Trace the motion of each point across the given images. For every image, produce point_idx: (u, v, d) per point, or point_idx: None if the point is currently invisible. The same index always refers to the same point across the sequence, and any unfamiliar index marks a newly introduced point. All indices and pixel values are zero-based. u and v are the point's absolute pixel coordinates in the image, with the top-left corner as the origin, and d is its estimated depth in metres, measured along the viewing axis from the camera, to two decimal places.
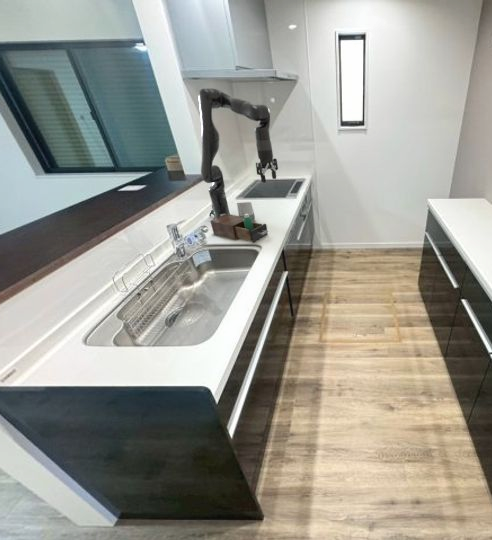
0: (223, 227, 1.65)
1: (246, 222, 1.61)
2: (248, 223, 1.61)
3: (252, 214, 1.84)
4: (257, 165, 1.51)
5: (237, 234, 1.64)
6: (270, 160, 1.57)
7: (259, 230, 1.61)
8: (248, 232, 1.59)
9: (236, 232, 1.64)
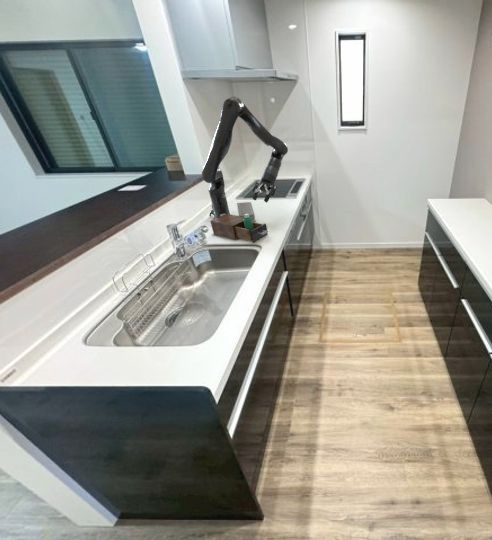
0: (223, 227, 1.65)
1: (246, 222, 1.61)
2: (248, 223, 1.61)
3: (252, 214, 1.84)
4: (274, 187, 1.65)
5: (237, 234, 1.64)
6: None
7: (259, 230, 1.61)
8: (248, 232, 1.59)
9: (236, 232, 1.64)
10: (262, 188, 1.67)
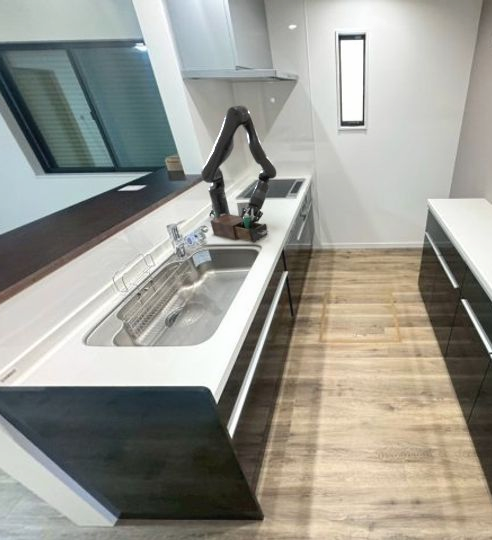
0: (223, 227, 1.65)
1: (246, 222, 1.61)
2: (248, 223, 1.61)
3: None
4: (260, 214, 1.61)
5: (237, 234, 1.64)
6: None
7: (259, 230, 1.61)
8: (248, 232, 1.59)
9: (236, 232, 1.64)
10: (249, 212, 1.63)
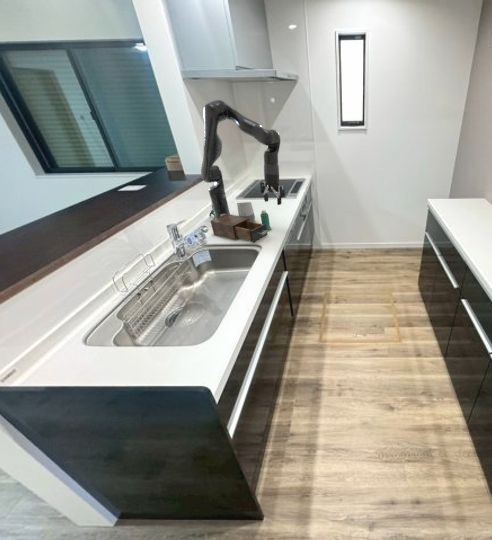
0: (223, 227, 1.65)
1: (263, 218, 1.71)
2: (265, 219, 1.72)
3: (252, 214, 1.84)
4: (282, 188, 1.53)
5: (237, 234, 1.64)
6: None
7: (259, 230, 1.61)
8: (248, 232, 1.59)
9: (236, 232, 1.64)
10: (270, 190, 1.56)
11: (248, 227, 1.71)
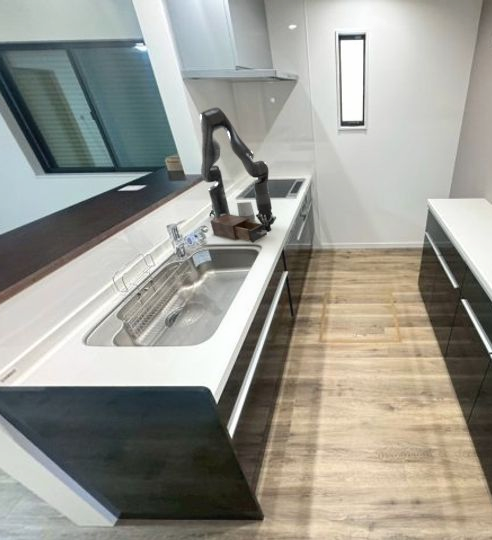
0: (223, 227, 1.65)
1: None
2: None
3: (252, 214, 1.84)
4: (274, 219, 1.58)
5: (236, 234, 1.65)
6: None
7: (258, 230, 1.62)
8: (247, 232, 1.59)
9: (235, 232, 1.64)
10: (264, 218, 1.60)
11: (247, 227, 1.71)
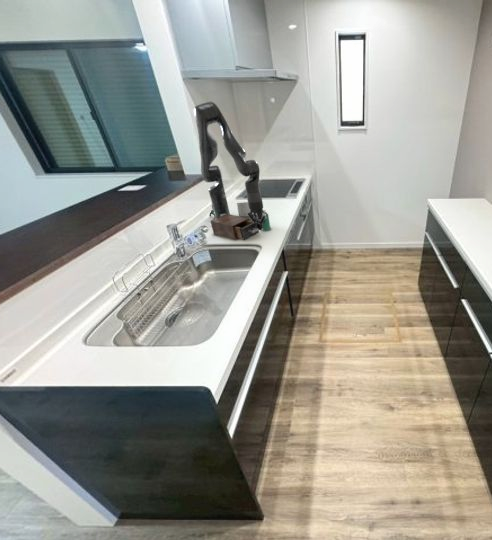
0: (223, 227, 1.65)
1: None
2: None
3: None
4: (265, 218, 1.61)
5: None
6: None
7: (250, 228, 1.64)
8: (239, 230, 1.62)
9: None
10: (255, 216, 1.63)
11: (239, 225, 1.74)
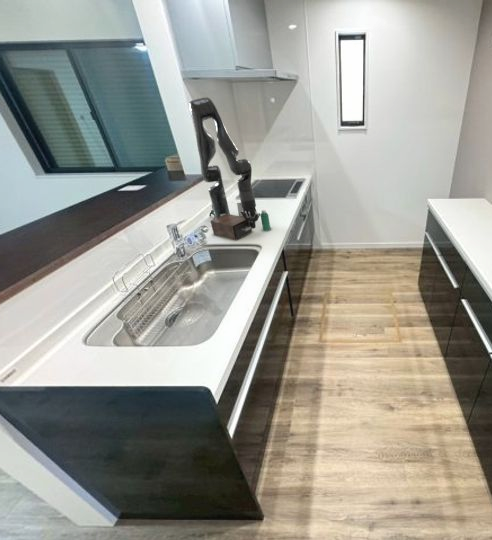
0: (223, 227, 1.65)
1: (263, 218, 1.71)
2: (265, 219, 1.72)
3: None
4: (258, 216, 1.63)
5: None
6: None
7: (243, 226, 1.66)
8: None
9: None
10: (248, 214, 1.65)
11: None
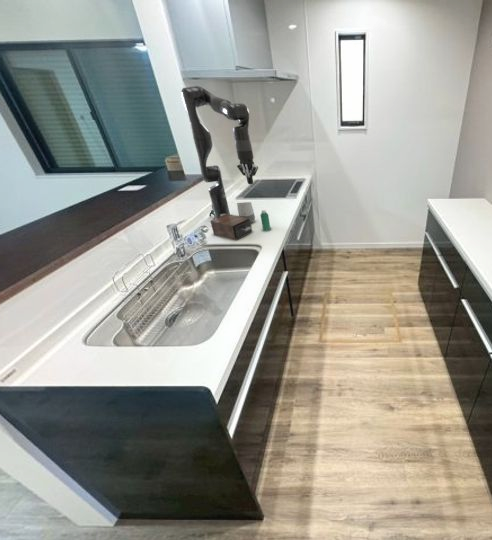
0: (223, 227, 1.65)
1: (263, 218, 1.71)
2: (265, 219, 1.72)
3: (252, 214, 1.84)
4: (255, 169, 1.50)
5: None
6: None
7: (243, 226, 1.66)
8: None
9: None
10: (245, 168, 1.52)
11: None
